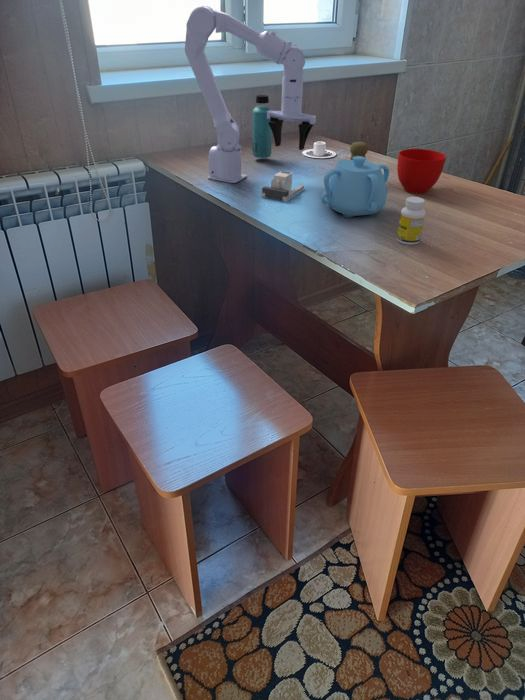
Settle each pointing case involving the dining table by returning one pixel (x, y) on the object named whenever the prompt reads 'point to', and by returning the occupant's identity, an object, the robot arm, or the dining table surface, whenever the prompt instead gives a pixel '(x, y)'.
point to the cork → (358, 149)
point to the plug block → (283, 177)
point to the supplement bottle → (411, 221)
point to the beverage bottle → (261, 129)
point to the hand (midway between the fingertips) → (289, 147)
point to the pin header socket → (280, 191)
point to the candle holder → (319, 150)
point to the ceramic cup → (419, 169)
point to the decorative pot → (356, 187)
